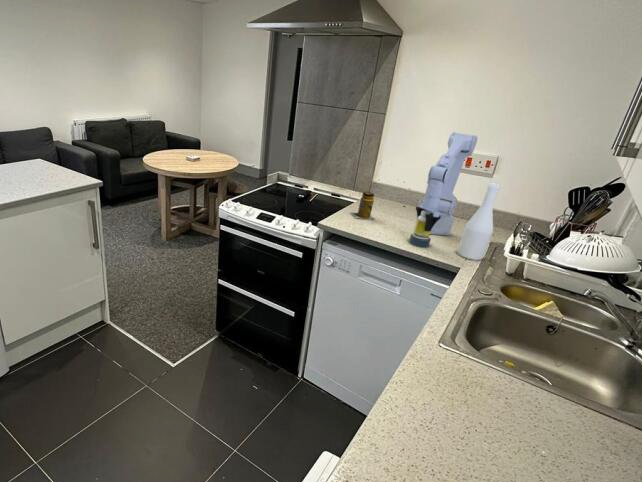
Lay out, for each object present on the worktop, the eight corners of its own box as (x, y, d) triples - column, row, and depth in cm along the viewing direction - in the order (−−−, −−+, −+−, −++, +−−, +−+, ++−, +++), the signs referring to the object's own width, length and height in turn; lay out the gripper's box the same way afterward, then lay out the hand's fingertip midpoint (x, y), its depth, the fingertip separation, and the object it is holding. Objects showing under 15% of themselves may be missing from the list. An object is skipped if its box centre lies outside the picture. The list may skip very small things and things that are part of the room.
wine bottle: (467, 261, 152) (493, 186, 140) (451, 250, 161) (474, 179, 149) (488, 260, 154) (515, 187, 142) (471, 250, 163) (495, 180, 151)
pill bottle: (431, 240, 161) (438, 215, 157) (416, 239, 161) (423, 214, 157) (424, 234, 167) (431, 210, 163) (410, 233, 167) (417, 209, 162)
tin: (424, 240, 169) (425, 234, 168) (432, 248, 162) (434, 241, 161) (406, 239, 169) (408, 232, 168) (413, 246, 162) (415, 240, 160)
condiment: (373, 219, 190) (378, 195, 185) (356, 218, 188) (361, 194, 184) (366, 213, 196) (371, 190, 192) (350, 213, 195) (355, 190, 190)
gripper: (415, 190, 163) (407, 220, 169) (430, 200, 150) (421, 233, 156) (432, 191, 164) (423, 221, 169) (448, 202, 150) (438, 234, 156)
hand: (423, 227), depth 162 cm, fingers open, 7 cm apart
